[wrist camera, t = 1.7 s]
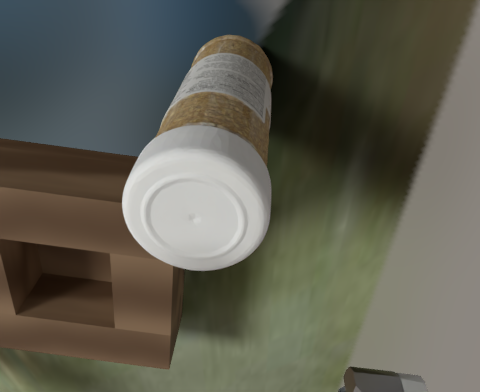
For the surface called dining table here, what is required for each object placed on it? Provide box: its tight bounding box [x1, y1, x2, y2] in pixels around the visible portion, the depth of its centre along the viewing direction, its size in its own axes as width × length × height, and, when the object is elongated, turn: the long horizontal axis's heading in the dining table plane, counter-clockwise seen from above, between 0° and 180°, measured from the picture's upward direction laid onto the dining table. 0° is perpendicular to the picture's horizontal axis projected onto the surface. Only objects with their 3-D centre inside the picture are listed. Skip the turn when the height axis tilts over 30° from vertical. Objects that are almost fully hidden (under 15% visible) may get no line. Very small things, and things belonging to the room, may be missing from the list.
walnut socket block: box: [0, 138, 185, 370], centre depth 29 cm, size 14×14×5 cm
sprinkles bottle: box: [122, 35, 273, 271], centre depth 19 cm, size 5×5×13 cm
